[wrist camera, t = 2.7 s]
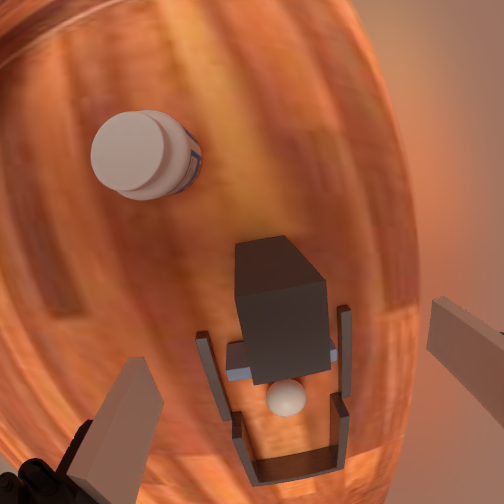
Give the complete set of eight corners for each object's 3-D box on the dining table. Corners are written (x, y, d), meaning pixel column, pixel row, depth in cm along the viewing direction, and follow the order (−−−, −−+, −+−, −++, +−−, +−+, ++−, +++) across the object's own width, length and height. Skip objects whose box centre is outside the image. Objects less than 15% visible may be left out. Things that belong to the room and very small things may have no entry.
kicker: (204, 249, 22) (178, 306, 12) (314, 230, 23) (376, 269, 12) (229, 354, 25) (228, 446, 14) (324, 336, 25) (367, 417, 14)
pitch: (196, 332, 25) (190, 357, 21) (346, 304, 25) (363, 324, 21) (243, 465, 30) (244, 487, 26) (343, 446, 30) (350, 466, 26)
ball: (261, 375, 26) (264, 401, 22) (300, 367, 26) (309, 392, 22) (266, 401, 27) (270, 427, 23) (303, 394, 27) (311, 419, 23)
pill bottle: (132, 143, 20) (70, 121, 11) (193, 120, 20) (163, 78, 11) (149, 204, 22) (93, 219, 12) (211, 183, 22) (192, 182, 12)
